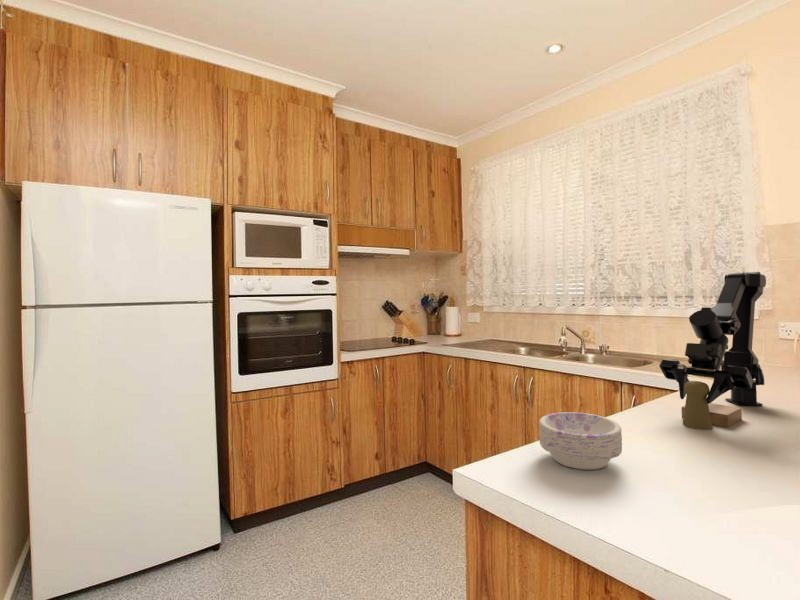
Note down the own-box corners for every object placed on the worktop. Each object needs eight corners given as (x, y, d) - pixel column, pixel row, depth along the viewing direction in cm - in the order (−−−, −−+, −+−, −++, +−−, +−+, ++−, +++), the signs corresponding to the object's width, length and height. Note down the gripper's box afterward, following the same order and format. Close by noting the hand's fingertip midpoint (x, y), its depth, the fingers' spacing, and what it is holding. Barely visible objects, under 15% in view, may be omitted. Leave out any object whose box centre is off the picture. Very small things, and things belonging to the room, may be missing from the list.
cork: (702, 422, 106) (701, 379, 106) (718, 429, 100) (717, 384, 100) (677, 422, 107) (676, 379, 107) (691, 429, 101) (690, 384, 101)
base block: (681, 418, 110) (681, 406, 110) (697, 411, 116) (696, 400, 116) (727, 427, 102) (727, 415, 102) (741, 419, 108) (741, 408, 108)
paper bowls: (565, 480, 75) (564, 436, 75) (527, 450, 90) (526, 414, 90) (641, 473, 78) (640, 430, 78) (591, 445, 93) (590, 409, 93)
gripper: (661, 329, 114) (643, 375, 107) (747, 333, 98) (732, 386, 92) (674, 355, 118) (657, 400, 112) (759, 363, 103) (744, 415, 97)
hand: (694, 400), depth 103 cm, fingers open, 5 cm apart
